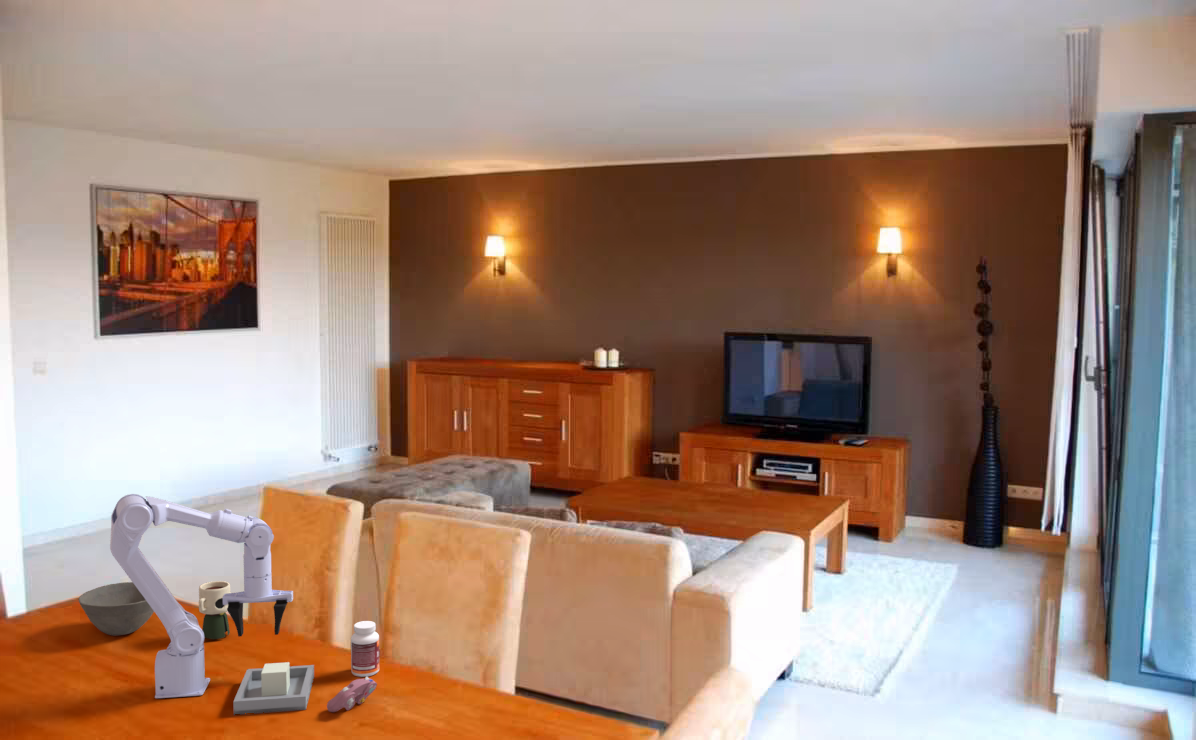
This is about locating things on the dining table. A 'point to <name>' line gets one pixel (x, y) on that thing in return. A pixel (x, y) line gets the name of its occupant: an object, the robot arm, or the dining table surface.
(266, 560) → the robot arm
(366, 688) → the video game controller
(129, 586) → the bowl
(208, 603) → the character mug
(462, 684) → the dining table surface
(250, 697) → the tray
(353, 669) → the pill bottle
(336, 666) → the dining table surface
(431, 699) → the dining table surface
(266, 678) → the block
